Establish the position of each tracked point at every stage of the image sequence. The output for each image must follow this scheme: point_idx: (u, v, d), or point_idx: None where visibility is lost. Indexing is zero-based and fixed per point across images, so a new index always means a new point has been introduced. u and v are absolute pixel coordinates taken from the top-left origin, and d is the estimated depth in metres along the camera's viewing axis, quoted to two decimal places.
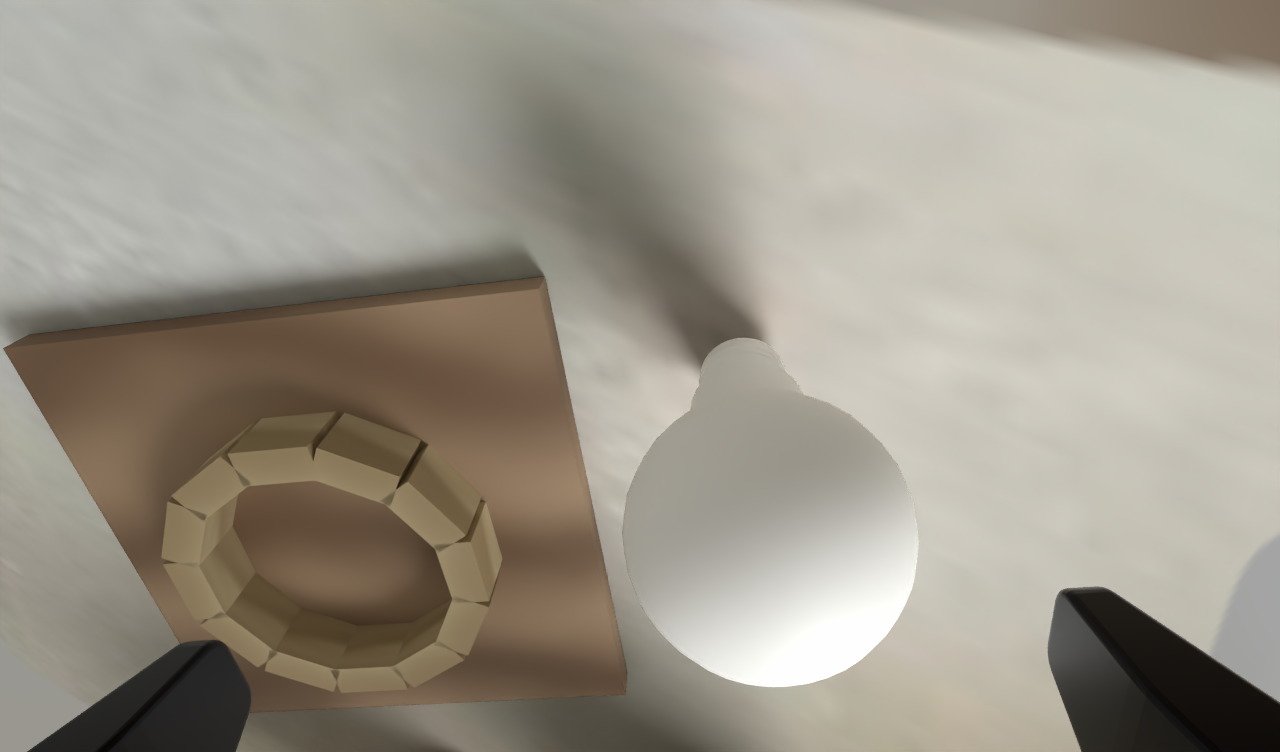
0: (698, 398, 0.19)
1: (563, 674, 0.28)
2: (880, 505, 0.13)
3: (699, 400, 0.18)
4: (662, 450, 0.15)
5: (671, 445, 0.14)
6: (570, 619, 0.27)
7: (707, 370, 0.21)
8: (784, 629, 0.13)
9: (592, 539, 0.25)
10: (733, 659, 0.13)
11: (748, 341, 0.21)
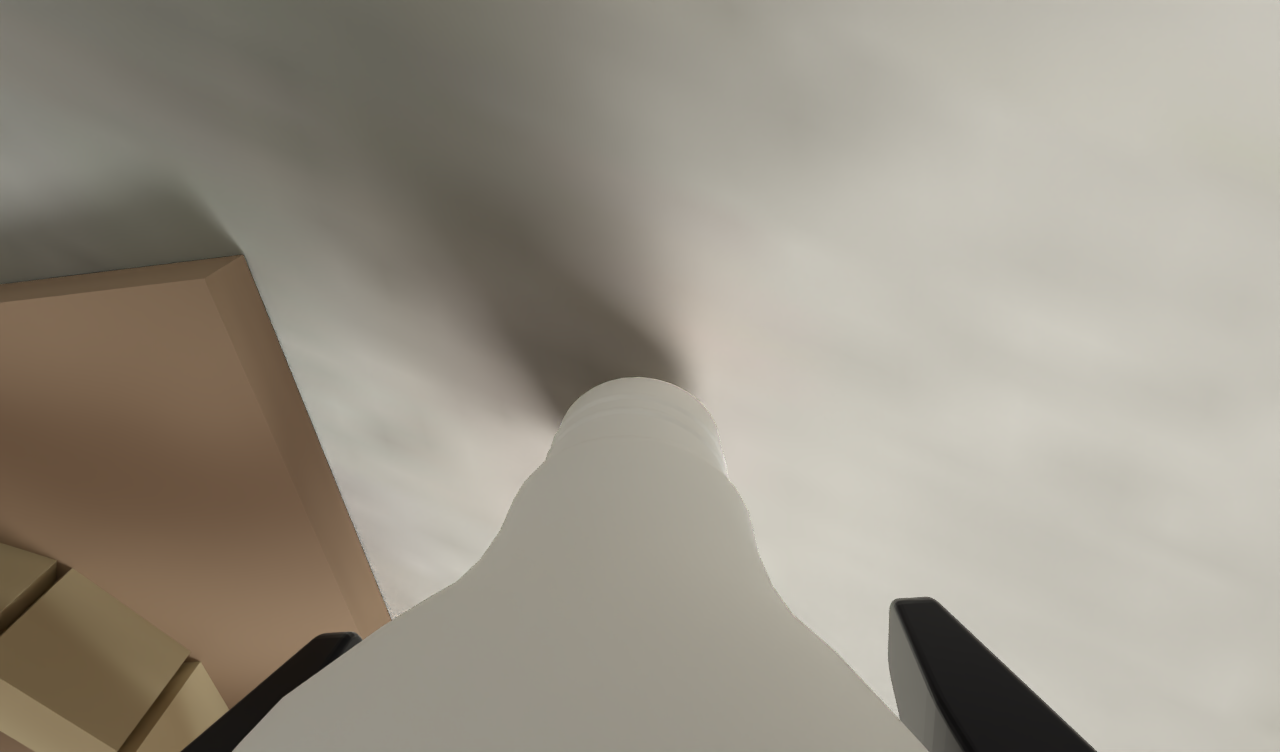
0: None
1: None
2: None
3: None
4: None
5: None
6: None
7: (553, 448, 0.10)
8: None
9: None
10: None
11: (642, 387, 0.10)
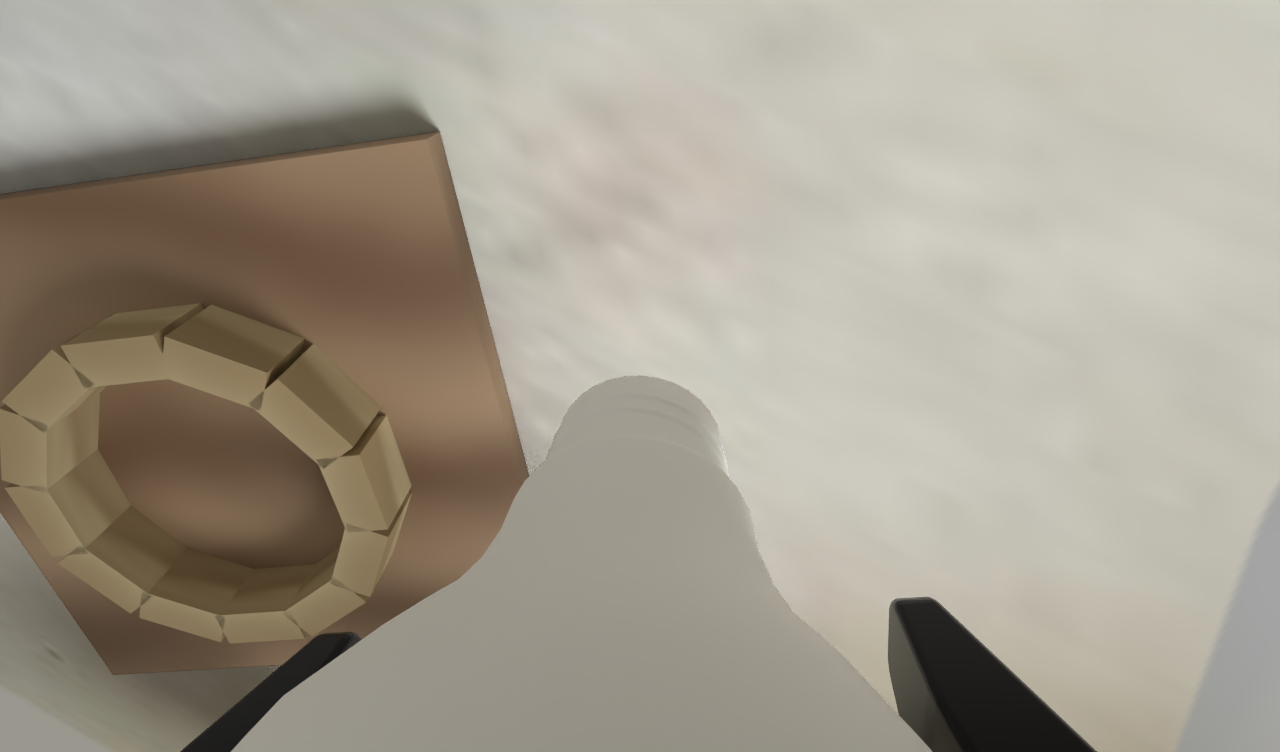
0: (503, 526, 0.08)
1: None
2: None
3: None
4: None
5: None
6: None
7: (554, 447, 0.10)
8: None
9: (513, 460, 0.21)
10: None
11: (643, 385, 0.10)
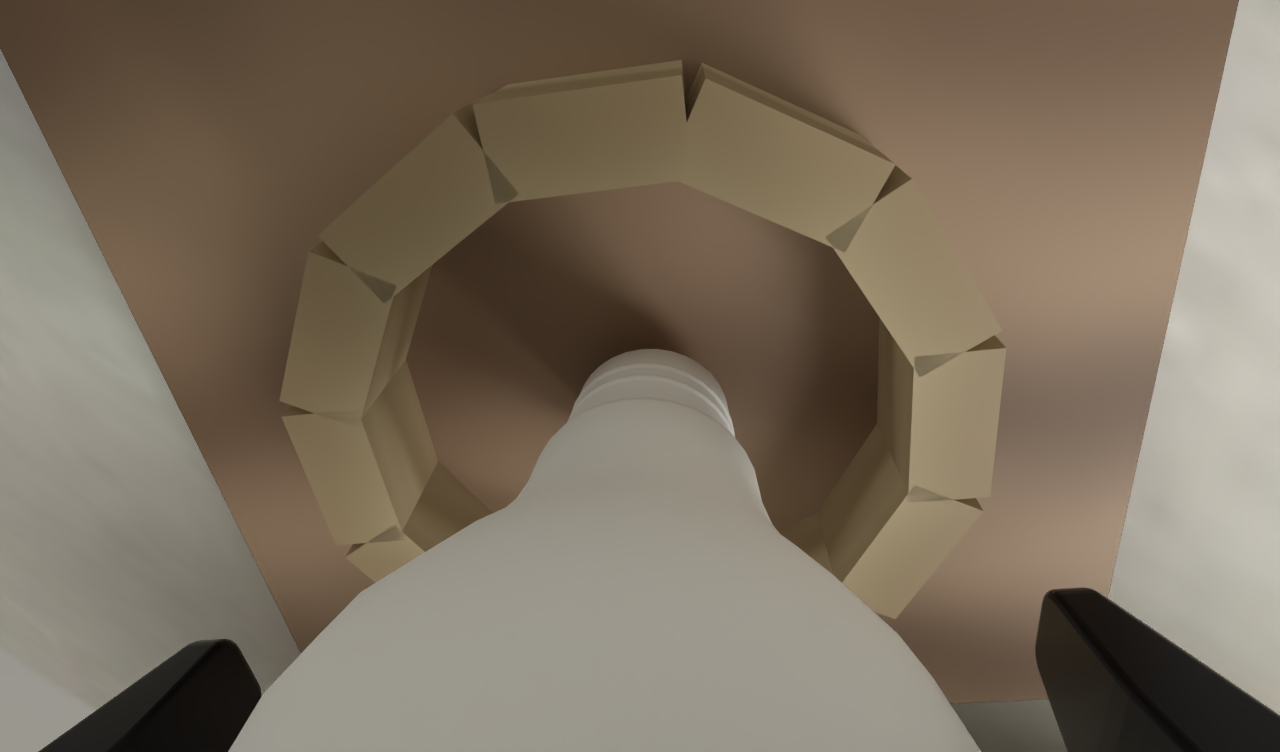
0: None
1: (983, 660, 0.15)
2: None
3: None
4: (262, 717, 0.05)
5: (277, 706, 0.05)
6: (1037, 554, 0.14)
7: (575, 411, 0.11)
8: None
9: (1152, 380, 0.12)
10: None
11: (659, 358, 0.11)
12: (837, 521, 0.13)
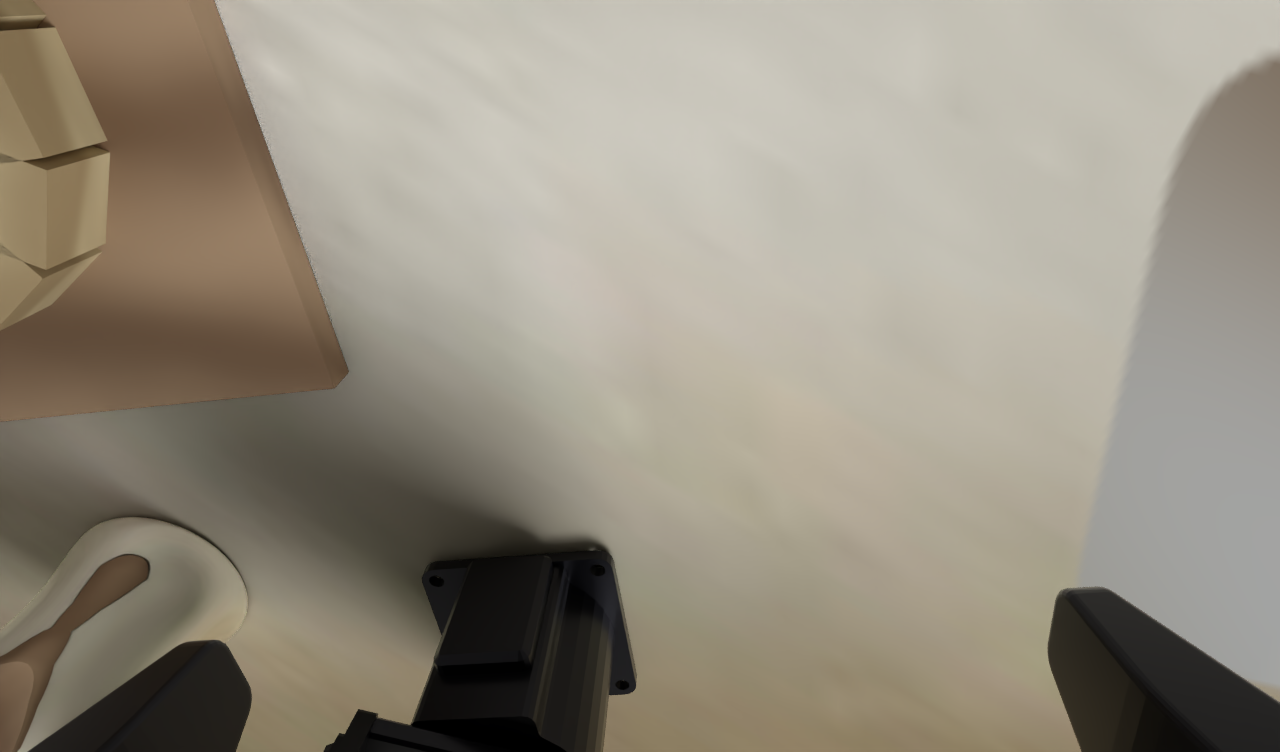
0: None
1: (243, 354, 0.20)
2: None
3: None
4: None
5: None
6: (229, 254, 0.19)
7: None
8: None
9: (226, 98, 0.17)
10: None
11: None
12: None
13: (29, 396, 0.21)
